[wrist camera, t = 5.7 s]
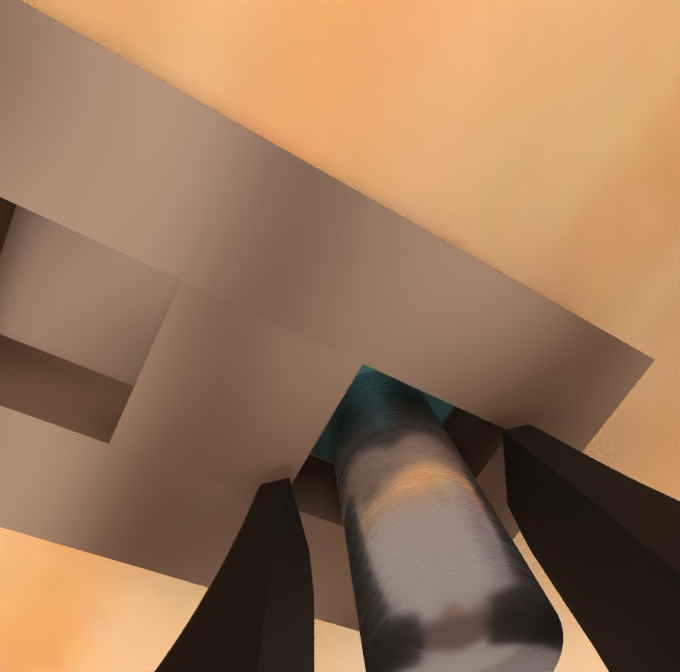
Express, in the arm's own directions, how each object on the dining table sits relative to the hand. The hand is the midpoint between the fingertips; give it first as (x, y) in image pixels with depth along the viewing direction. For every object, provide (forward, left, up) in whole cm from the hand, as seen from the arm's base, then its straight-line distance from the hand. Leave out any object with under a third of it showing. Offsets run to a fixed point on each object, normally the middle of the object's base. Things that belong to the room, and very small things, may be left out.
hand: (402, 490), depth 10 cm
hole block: (+4, 0, -4) cm, 6 cm away
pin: (0, 0, -3) cm, 3 cm away
